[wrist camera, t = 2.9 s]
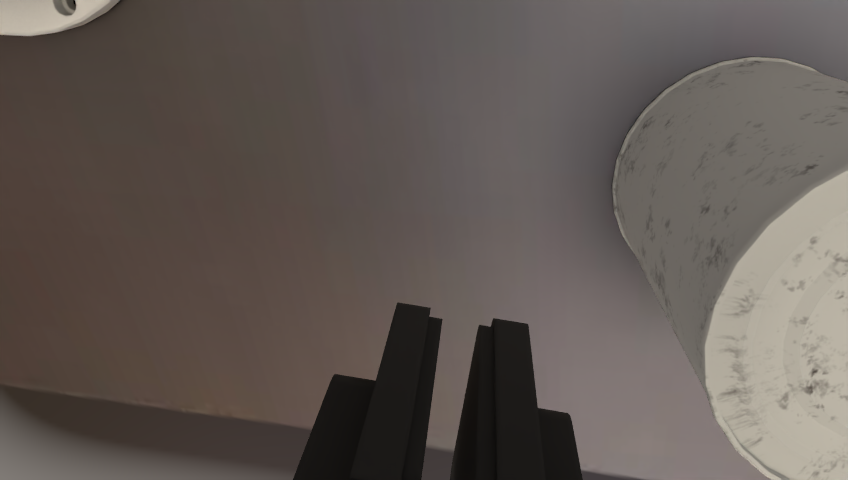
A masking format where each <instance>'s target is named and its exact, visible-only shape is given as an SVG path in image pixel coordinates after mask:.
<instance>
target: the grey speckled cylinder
mask: <svg viewBox="0 0 848 480" xmlns="http://www.w3.org/2000/svg"><path fill="white" fill-rule="evenodd" d="M612 194H613V207H614V213H615V216H616V219H617V222H618V225H619V228H620V231H621V234H622V236H623V237H624V239H625V240H626V242H627V244H628V245H629V247H630V248H631V250H632V251H633V253H634V254H635V256H636V258H637V260H638V262H639V264H640V266H641V268H642V270H643V271H644V273H645V275H646V277H647V279H648V281H649V283H650V285H651V287H652V289H653V291H654V293H655V295H656V297H657V299H658V301H659V303H660V304H661V306H662V308H663V310H664V312H665V314H666V316H667V318H668V320H669V322H670V324H671V326H672V328H673V330H674V332H675V334H676V336H677V337H678V339H679V341H680V343H681V345H682V347H683V349H684V351H685V353H686V355H687V357H688V359H689V361H690V363H691V365H692V367H693V369H694V370H695V372H696V374H697V376H698V378H699V380H700V382H701V384H702V386H703V388H704V390H705V392H706V394H707V398H708V401H709V404H710V407H711V410H712V414H713V416H714V418H715V420H716V421H717V423H718V424H719V426H720V427H721V429H722V430H723V432H724V434H725V435H726V437H727V438H728V440H729V441H730V443H731V444H732V446H733V447H734V449H735V450H736V451H737V452H738V453H739V454H741V455H742V456H743V457H744V458H745V459H746V460H747V461H749V462H750V463H751V464H752V465H753V466H754V467H755V468H756V469H758V470H759V471H760V472H761V473H762V474H763V475H765V476H766V477H768V478H770V479H772V480H848V82H846V81H843V80H840V79H836V78H833V77H830V76H827V75H824V74H821V73H819V72H818V71H816V70H814V69H813V68H811V67H808V66H804V65H801V64H798V63H795V62H791V61H788V60H785V59H780V58H764V57H747V58H741V59H734V60H728V61H722V62H719V63H716V64H713V65H711V66H708V67H706V68H703V69H700V70H698V71H695V72H692V73H691V74H689V75H687V76H686V77H684V78H683V79H681V80H680V81H678V82H676V83H675V84H673V85H672V86H670V87H668V88H667V89H665V90H664V91H663V92H662V93H661V94H660V95H659V96H658V97H657V98H656V99H655V100H654V101H653V102H652V103H651V104H650V105H649V106H647V107H646V108H645V109H644V110H643V112H642V113H641V115H640V116H639V118H638V119H637V120H636V122H635V123H634V125H633V126H632V128H631V129H630V131H629V132H628V133H627V135H626V138H625V140H624V143H623V145H622V147H621V150H620V152H619V155H618V157H617V159H616V165H615V171H614V177H613V183H612Z"/></svg>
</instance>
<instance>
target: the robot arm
mask: <svg viewBox="0 0 848 480" xmlns="http://www.w3.org/2000/svg"><path fill="white" fill-rule="evenodd" d="M119 1H120V0H75V2H76V6H75V5H74V3H73V0H0V35H16V36H35V35H43V34H51V33H58V32H61V31H65V30H68V29H72V28H75V27H79V26H82V25H85V24H86V23H88V22H90V21H92V20H94V19H95V18H97V17H99V16H101V15H103V14H104V13H106V12H108V11H109V10H110V9H111V8H112V7H113V6H114V5H115V4H117V3H118V2H119ZM429 315H430V308H428V307H422V306H415V305H409V304H403V303H397V305H396V309H395V313H394V316H393V320H392V324H391V327H390V331H389V335H388V338H387V342H386V346H385V349H384V353H383V357H382V360H381V364H380V368H379V371H378V375H377V378H376V381H373V380H368V379H362V378H356V377H350V376H344V375H338V374H335V375H334V376H333V377H332V380H331V382H330V384H329V387H328V390H327V392H326V395H325V397H324V400H323V403H322V405H321V408H320V410H319V413H318V416H317V418H316V421H315V424H314V426H313V429H312V432H311V434H310V437H309V439H308V442H307V445H306V447H305V450H304V452H303V455H302V457H301V460H300V463H299V465H298V468H297V471H296V473H295V476H294V478H293V480H421V477H422V469H423V462H424V454H425V447H426V439H427V432H428V424H429V416H430V409H431V401H432V394H433V386H434V379H435V371H436V363H437V356H438V348H439V341H440V333H441V325H442V319H440V318H434V317H429ZM450 480H582V474H581V469H580V463H579V458H578V452H577V447H576V442H575V436H574V431H573V425H572V421H571V417H570V415H569V414H568V413H564V412H558V411H552V410H546V409H540V408H538V407H537V398H536V389H535V380H534V371H533V362H532V353H531V344H530V335H529V327H528V324H525V323H519V322H513V321H507V320H501V319H495V318H494V319H493V321H492V325H491V327H488V326H482V325H479V327H478V331H477V336H476V342H475V347H474V352H473V357H472V362H471V368H470V373H469V378H468V383H467V388H466V393H465V399H464V404H463V409H462V414H461V419H460V425H459V430H458V435H457V440H456V445H455V451H454V456H453V462H452V468H451V476H450Z"/></svg>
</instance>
